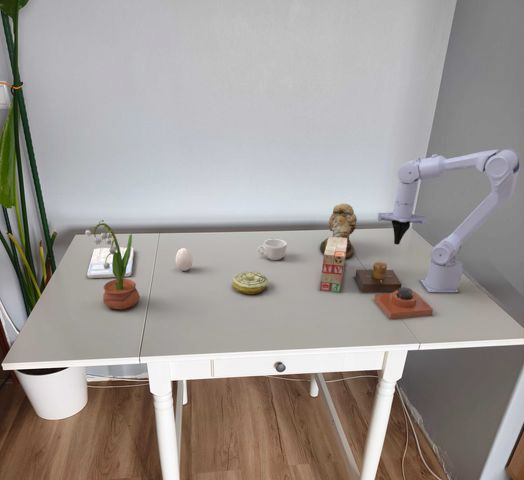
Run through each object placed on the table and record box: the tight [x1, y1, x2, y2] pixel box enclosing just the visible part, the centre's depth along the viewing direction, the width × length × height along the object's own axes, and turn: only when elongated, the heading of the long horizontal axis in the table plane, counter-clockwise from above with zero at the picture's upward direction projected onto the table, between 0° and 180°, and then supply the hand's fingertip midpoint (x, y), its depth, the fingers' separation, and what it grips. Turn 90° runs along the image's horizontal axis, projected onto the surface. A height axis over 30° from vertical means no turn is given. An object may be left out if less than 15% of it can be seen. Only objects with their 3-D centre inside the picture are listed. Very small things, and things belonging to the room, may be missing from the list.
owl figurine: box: [320, 203, 358, 261], centre depth 175 cm, size 18×12×17 cm, turn 1°
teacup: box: [257, 238, 288, 261], centre depth 170 cm, size 10×8×5 cm
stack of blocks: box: [319, 236, 347, 293], centre depth 158 cm, size 21×6×12 cm, turn 168°
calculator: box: [86, 246, 135, 279], centre depth 163 cm, size 13×20×2 cm, turn 10°
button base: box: [373, 290, 434, 320], centre depth 145 cm, size 13×11×4 cm
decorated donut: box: [232, 271, 270, 295], centre depth 152 cm, size 10×11×4 cm
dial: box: [372, 261, 388, 279], centre depth 154 cm, size 4×4×4 cm
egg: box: [175, 247, 193, 272], centre depth 160 cm, size 5×5×8 cm
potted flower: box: [84, 220, 140, 310], centre depth 135 cm, size 12×10×25 cm
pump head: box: [397, 287, 414, 300], centre depth 143 cm, size 4×4×2 cm
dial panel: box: [354, 269, 403, 294], centre depth 156 cm, size 12×10×3 cm
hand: (396, 243), depth 159 cm, fingers closed
